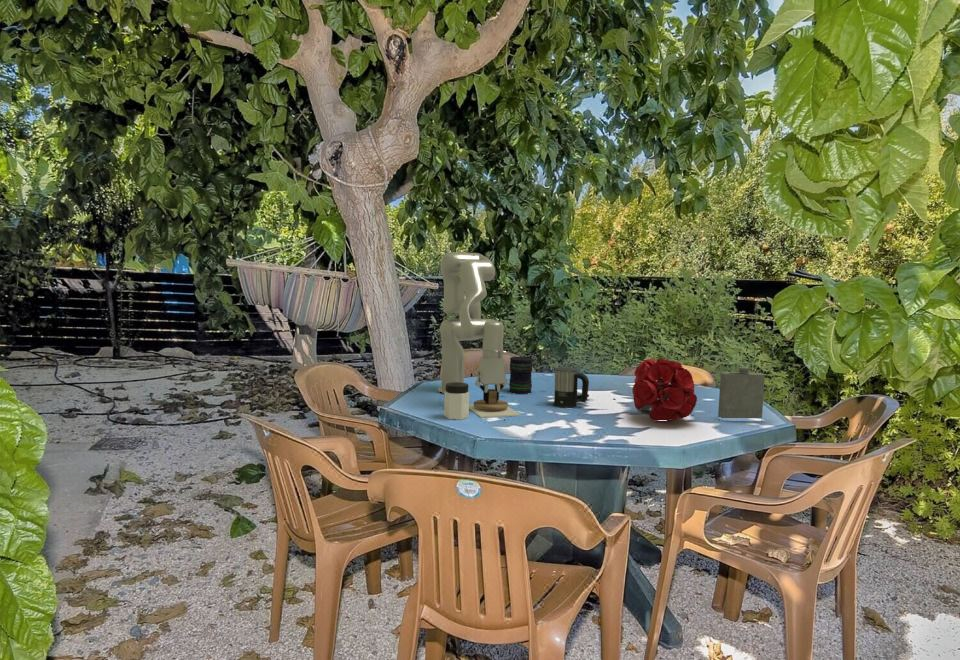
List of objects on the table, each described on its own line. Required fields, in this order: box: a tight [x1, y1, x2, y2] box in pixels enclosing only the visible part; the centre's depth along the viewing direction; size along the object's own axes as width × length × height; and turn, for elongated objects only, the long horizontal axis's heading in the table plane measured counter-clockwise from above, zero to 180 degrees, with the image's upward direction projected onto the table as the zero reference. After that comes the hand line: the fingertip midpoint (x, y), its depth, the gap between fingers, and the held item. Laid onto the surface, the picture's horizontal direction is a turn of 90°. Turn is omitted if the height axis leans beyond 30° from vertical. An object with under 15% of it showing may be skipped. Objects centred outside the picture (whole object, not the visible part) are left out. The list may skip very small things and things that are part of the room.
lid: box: [473, 388, 509, 410], centre depth 233 cm, size 13×13×6 cm
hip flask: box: [717, 366, 766, 419], centre depth 225 cm, size 16×4×20 cm, turn 91°
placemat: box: [469, 403, 521, 419], centre depth 232 cm, size 20×15×1 cm
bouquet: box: [631, 357, 698, 421], centre depth 226 cm, size 22×24×30 cm
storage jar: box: [508, 356, 533, 395], centre depth 268 cm, size 10×10×15 cm
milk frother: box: [553, 366, 590, 408], centre depth 247 cm, size 14×16×15 cm
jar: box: [443, 382, 470, 421], centre depth 221 cm, size 9×8×12 cm
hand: (490, 401), depth 233 cm, fingers closed on lid, 3 cm apart
